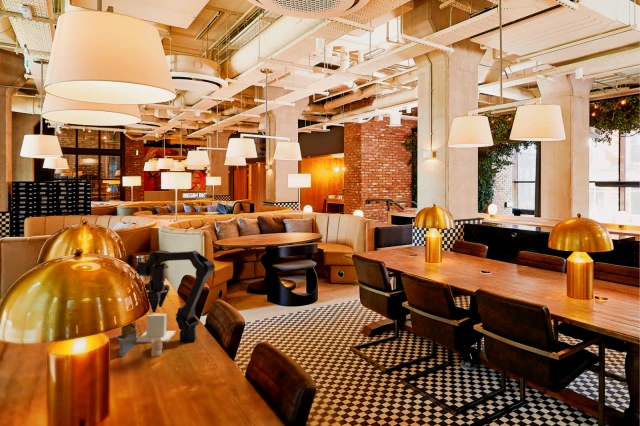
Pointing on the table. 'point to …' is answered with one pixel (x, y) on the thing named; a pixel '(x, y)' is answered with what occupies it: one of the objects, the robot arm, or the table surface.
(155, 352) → the offcut stack
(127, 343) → the rack
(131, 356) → the table surface
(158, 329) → the grey upright block
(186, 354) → the table surface
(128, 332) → the condiment
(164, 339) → the mat
